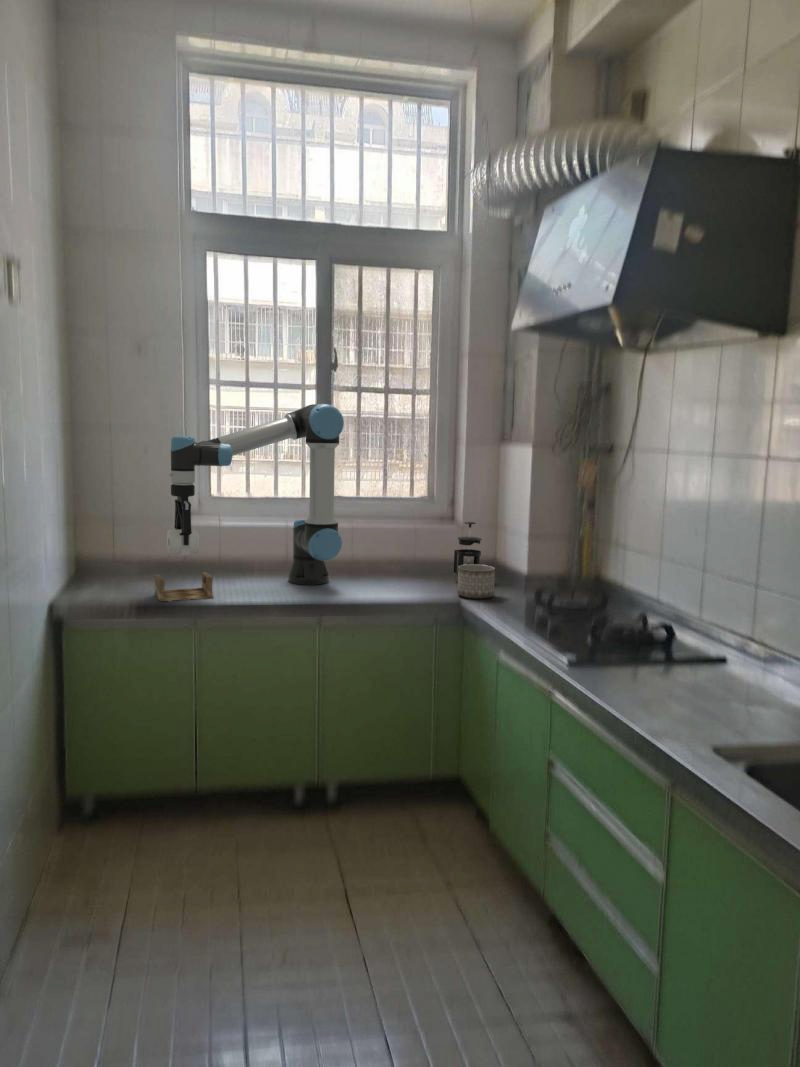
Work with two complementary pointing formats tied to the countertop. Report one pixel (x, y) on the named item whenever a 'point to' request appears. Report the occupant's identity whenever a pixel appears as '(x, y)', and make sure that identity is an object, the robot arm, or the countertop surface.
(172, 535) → the roll
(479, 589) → the planter
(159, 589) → the holder
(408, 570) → the countertop surface
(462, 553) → the french press
